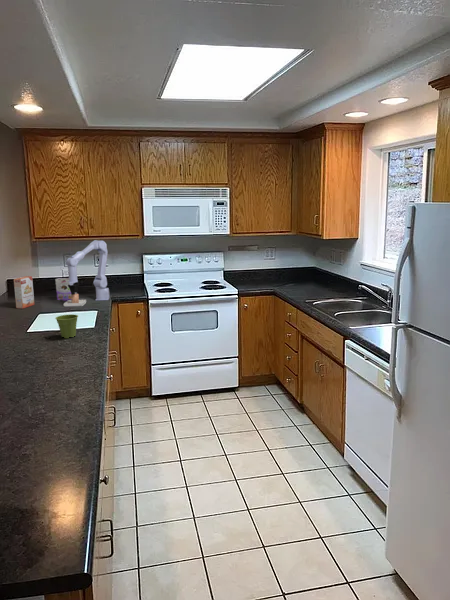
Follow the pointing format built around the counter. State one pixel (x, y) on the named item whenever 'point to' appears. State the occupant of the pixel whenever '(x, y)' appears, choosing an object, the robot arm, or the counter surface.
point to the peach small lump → (75, 298)
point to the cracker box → (24, 292)
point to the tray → (69, 303)
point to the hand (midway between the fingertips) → (74, 293)
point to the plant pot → (67, 325)
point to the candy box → (63, 289)
